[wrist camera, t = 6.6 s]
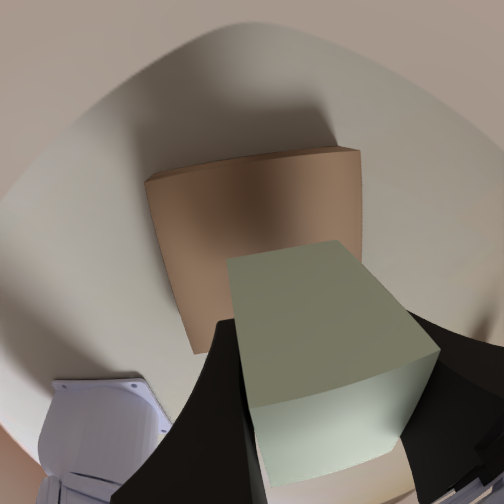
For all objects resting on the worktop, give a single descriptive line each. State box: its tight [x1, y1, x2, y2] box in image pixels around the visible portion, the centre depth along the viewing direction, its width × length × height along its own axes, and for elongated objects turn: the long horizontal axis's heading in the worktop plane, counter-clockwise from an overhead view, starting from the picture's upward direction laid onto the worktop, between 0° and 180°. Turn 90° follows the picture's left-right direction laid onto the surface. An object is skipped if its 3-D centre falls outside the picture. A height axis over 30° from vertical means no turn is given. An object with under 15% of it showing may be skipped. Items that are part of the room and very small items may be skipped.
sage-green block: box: [226, 239, 441, 487], centre depth 8 cm, size 4×5×6 cm
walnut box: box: [144, 146, 362, 354], centre depth 16 cm, size 10×10×3 cm
